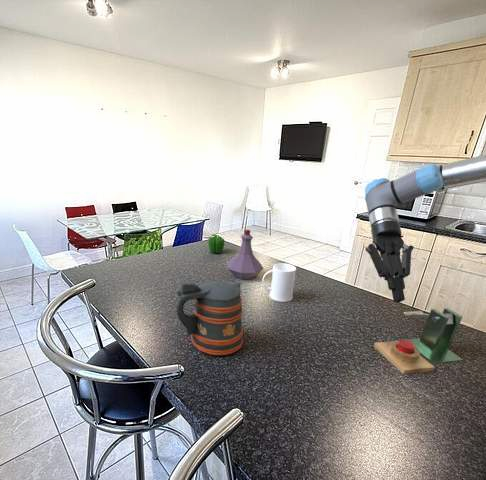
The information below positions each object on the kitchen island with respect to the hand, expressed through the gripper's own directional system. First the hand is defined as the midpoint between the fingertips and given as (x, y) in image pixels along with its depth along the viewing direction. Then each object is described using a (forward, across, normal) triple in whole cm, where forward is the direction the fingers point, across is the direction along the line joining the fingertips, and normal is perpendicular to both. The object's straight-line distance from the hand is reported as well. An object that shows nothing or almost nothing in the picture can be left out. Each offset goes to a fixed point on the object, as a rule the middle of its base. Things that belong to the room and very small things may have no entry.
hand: (399, 300), depth 80 cm
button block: (+16, 0, -4) cm, 16 cm away
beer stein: (+13, +51, -6) cm, 53 cm away
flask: (-22, +39, -41) cm, 61 cm away
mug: (-9, +28, -28) cm, 40 cm away
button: (+13, 0, -1) cm, 13 cm away
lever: (+4, -9, -4) cm, 11 cm away
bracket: (+13, -10, -7) cm, 17 cm away
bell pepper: (-43, +52, -62) cm, 91 cm away
